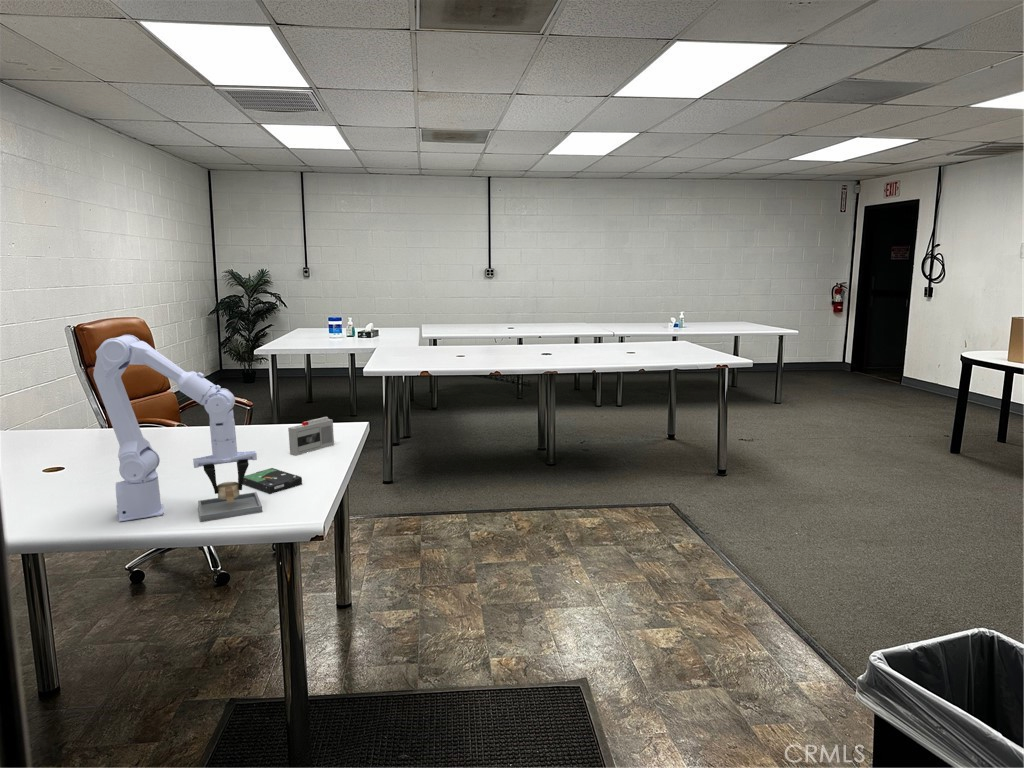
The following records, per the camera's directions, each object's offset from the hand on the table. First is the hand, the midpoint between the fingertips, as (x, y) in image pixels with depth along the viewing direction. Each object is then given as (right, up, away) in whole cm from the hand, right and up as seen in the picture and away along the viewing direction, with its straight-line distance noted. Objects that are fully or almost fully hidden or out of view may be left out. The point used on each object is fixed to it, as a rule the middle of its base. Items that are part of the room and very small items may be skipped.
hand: (228, 490), depth 169 cm
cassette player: (+5, +5, +54) cm, 54 cm away
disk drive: (+4, -2, +19) cm, 20 cm away
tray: (+1, -5, 0) cm, 5 cm away
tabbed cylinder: (+1, -2, -1) cm, 2 cm away
